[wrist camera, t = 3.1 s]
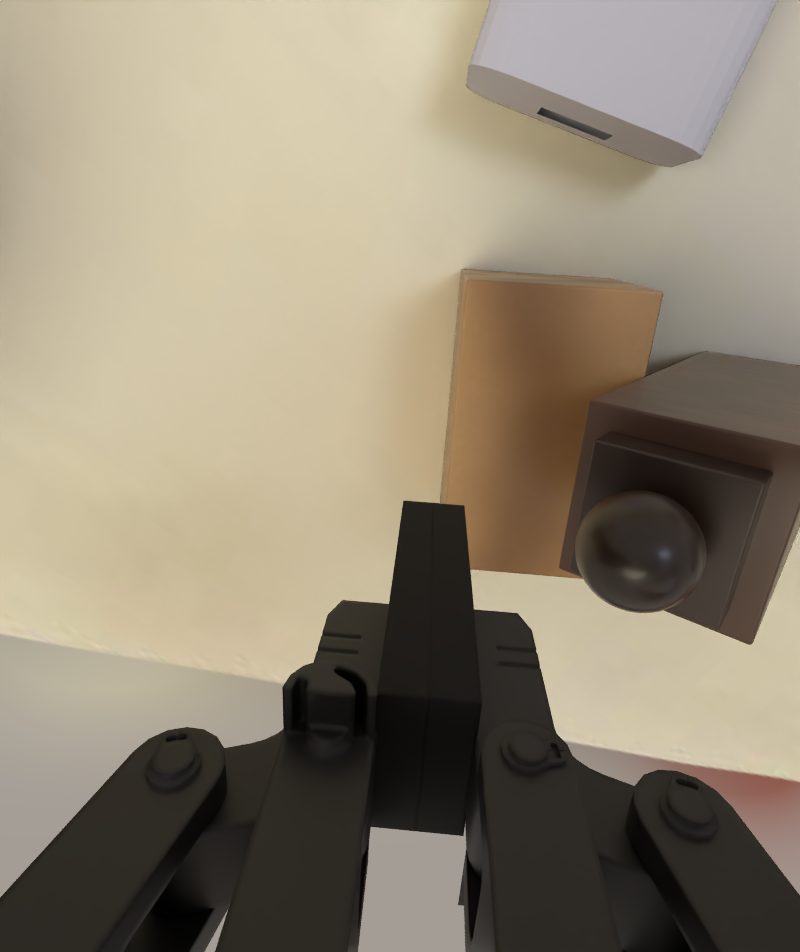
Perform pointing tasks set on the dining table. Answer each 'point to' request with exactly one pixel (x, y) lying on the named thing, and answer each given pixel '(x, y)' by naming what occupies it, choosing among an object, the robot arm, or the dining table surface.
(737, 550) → the pepper mill
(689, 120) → the charger
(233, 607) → the dining table surface
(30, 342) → the dining table surface
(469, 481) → the wooden block
